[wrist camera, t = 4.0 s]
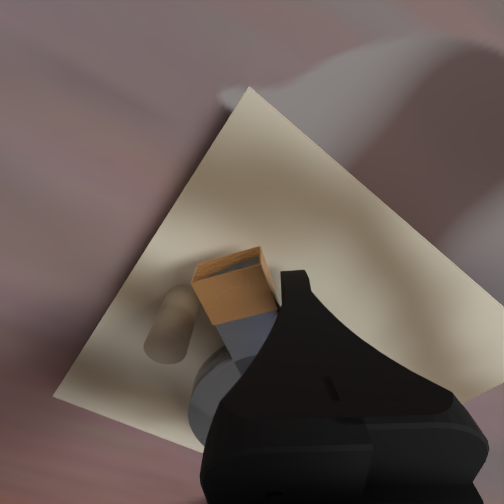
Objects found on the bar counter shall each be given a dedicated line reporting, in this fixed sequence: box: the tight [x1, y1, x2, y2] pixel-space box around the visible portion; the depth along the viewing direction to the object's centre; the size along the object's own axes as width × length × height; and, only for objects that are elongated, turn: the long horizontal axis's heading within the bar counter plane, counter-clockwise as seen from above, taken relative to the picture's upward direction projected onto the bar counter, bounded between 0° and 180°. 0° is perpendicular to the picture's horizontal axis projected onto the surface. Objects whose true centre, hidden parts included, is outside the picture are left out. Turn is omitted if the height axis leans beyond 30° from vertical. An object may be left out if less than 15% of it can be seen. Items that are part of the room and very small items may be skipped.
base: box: [53, 87, 504, 453], centre depth 14 cm, size 20×20×6 cm
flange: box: [188, 246, 281, 446], centre depth 13 cm, size 14×10×1 cm
